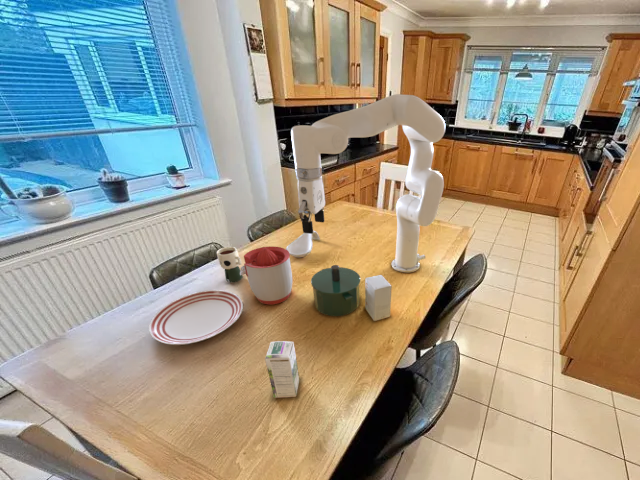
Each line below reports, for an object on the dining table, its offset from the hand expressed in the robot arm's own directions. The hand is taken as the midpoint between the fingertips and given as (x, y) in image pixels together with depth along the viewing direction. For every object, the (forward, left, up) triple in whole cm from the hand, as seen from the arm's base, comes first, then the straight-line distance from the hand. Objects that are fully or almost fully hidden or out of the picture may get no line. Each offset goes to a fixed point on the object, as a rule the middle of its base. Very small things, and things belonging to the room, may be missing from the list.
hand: (314, 227), depth 100 cm
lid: (-4, +6, -18) cm, 20 cm away
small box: (-14, +18, -28) cm, 37 cm away
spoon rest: (-8, -41, -28) cm, 50 cm away
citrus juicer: (+16, -9, -28) cm, 34 cm away
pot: (-4, +6, -28) cm, 29 cm away
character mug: (+26, -28, -28) cm, 47 cm away
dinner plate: (+40, -6, -28) cm, 49 cm away
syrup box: (+23, +35, -28) cm, 51 cm away
